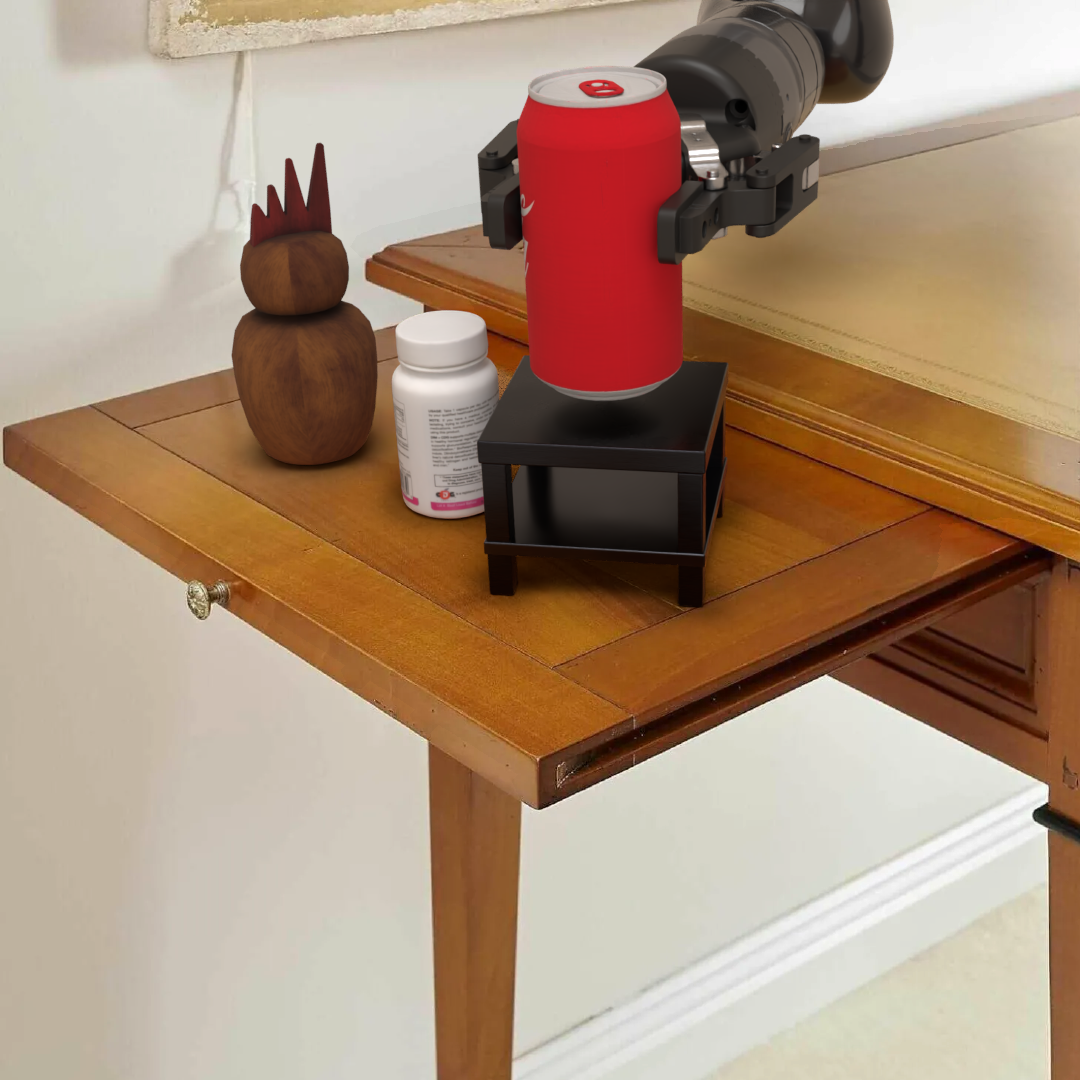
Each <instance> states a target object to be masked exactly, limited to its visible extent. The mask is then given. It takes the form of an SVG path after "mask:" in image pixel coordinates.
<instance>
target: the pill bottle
mask: <svg viewBox="0 0 1080 1080" xmlns="http://www.w3.org/2000/svg"><path fill="white" fill-rule="evenodd" d="M394 334H395V347H396V355H397V361H398V363H399V365H397V367H396V368H395V369H394V371H393V372H392V376H391V393H392V403H393V404H392V405H393V414H394V425H395V435H396V445H397V457H398V464H399V475H400V476H399V477H400V489H401V493H402V499H403V501H404V503H405V505H406V506H407V507H408V508H409V509H411V510H412V511H413V512H415V513H418V514H420V515H423V516H426V517H431V518H436V519H461V518H467V517H472V516H475V515H478V514H481V513H483V512H484V498H483V483H482V469H481V463H479V462H478V453H477V441H478V439H479V437H480V435H481V433H482V432H483V430H484V428H485V426H486V424H487V422H488V420H489V419H490V417H491V415H492V413H493V411H494V409H495V408H496V406H497V404H498V402H499V400H500V384H499V373H498V369H497V367H496V365H495V364H494V362H493V361H492V359H490V358H489V357H487V356H488V354H489V340H488V339H489V338H488V331H487V325H486V321H485V319H483V317H481V316H479V315H477V314H475V313H472V312H469V311H463V310H451V309H450V310H449V309H447V310H446V309H445V310H444V309H443V310H433V311H427V312H422V313H418V314H414V315H411V316H409V317H407V318H405V319H403V320H402V321H400V322H399V323H398V324H397V325H396V327H395V331H394ZM484 513H485V512H484Z"/></svg>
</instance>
